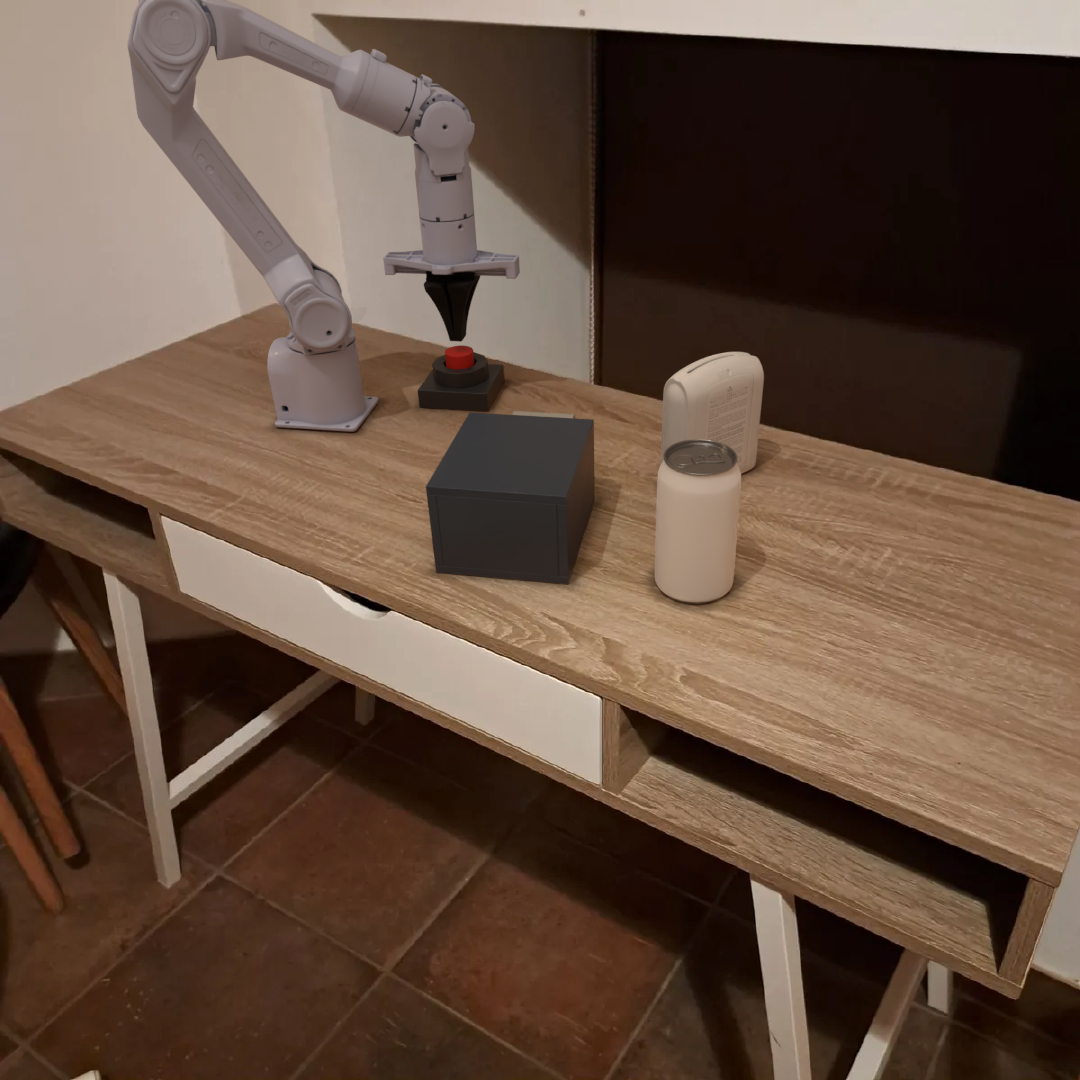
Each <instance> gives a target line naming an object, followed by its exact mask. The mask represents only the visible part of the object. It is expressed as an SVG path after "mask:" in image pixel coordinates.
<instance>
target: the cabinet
mask: <svg viewBox="0 0 1080 1080" xmlns="http://www.w3.org/2000/svg"><path fill="white" fill-rule="evenodd" d="M595 481H596V480H595V419H589V418H576V417H575V418H559V417H541V416H524V415H512V414H504V413H503V414H502V413H490V412H489V413H487V412H473V411H469V412H468V414H467V416H466V417H465V419H464V421H463V422H462V424H461V426H460V428H459V429H458V430H457V432H456V435H455V436H454V438H453V440H452V441H451V443H450V445H449V446H448V448H447V450H446V451H445V453H444V454H443V456H442V458H441V460H440V462H439V463H438V465H437V466H436V468H435V470H434V472H433V473H432V475H431V477H430V478H429V480H428V482H427V484H426V485H425V491H426V499H427V501H426V502H427V508H428V517H429V525H430V533H431V543H432V550H433V558H434V559H433V560H434V565H435V573H437V574H448V575H459V576H471V577H480V578H491V579H492V578H493V579H505V580H514V581H526V582H537V583H547V584H558V585H559V584H560V585H569V584H570V581H571V578H572V575H573V572H574V568H575V566H576V563H577V559H578V557H579V556H578V555H579V552H580V549H581V547H582V543H583V539H584V537H585V534H586V530H587V527H588V523H589V520H590V518H591V514H592V510H593V507H594V505H595V501H596V498H595V497H596V495H595V491H596V490H595V489H596V488H595V485H596V483H595Z"/></svg>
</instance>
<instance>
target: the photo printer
mask: <svg viewBox="0 0 1080 1080" xmlns="http://www.w3.org/2000/svg"><path fill="white" fill-rule="evenodd" d="M764 383H765V373H764V368H763V365H762V363H761V361H760V359H759V357H757V356H755V355H751V354H750V353H749V352H744V351H727V352H722V353H716V354H712V355H709V356H706V357H703V358H700V359H698V360H696V361H694V362H692V363H690V364H688V365H686V366H684V367H683V368H681V369H679V370H678V371H676V372H675V373H674V374H673V375H671V377H670V378H668V379H667V380H666V382H665V384H664V386H663V393H662V415H661V416H662V418H661V439H660V441H661V443H660V465H661V464H662V462H663V461H664V452H665V450H666V449H667V448H668V447H669V446H671V445H673V444H675V443H677V442H680V441H684V440H691V439H706V440H713V441H717V442H720V443H723V444H725V445H727V446H729V447H731V448H732V449H733V450H734V451H735V452H736V454H737V457H738V459H737V464H738V467H739V469H740V472H741V474H743V473H746V472H748V471H750V470H752V469H754V467H755V466H756V464H757V457H758V445H759V436H760V435H759V433H760V423H761V411H762V402H763V391H764Z"/></svg>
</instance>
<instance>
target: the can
mask: <svg viewBox="0 0 1080 1080" xmlns="http://www.w3.org/2000/svg"><path fill="white" fill-rule="evenodd" d="M737 459H738V457H737V454H736V452H735V451H734V450H733V449H732V448H731V447H729V446H727V445H725V444H723V443H720V442H717V441H713V440H706V439H691V440H684V441H680V442H677V443H675V444H673V445H671V446H669V447H668V448H667V449H666V450H665V452H664V461H663V462H662V464H661V463H660V465H659V468H658V471H657V477H656V479H657V480H656V502H655V503H656V506H655V535H654V536H655V540H654V581H655V584H656V586H657V587H658V589H659V590H660V591H661V592H662V593H663V594H664V595H665V596H667V597H668V598H669V599H671V600H674V601H675V602H680V603H684V604H687V605H688V604H690V605H702V604H703V605H704V604H709V603H713V602H715V601H717V600H720V599H721V598H723V597H725V595H727V594H728V592H730V591H731V589H732V587H733V583H734V577H735V565H736V555H737V543H738V531H739V518H740V505H741V504H740V503H741V493H742V492H741V491H742V488H741V487H742V473H741V472H740V469H739V467H738V464H737Z"/></svg>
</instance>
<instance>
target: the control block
mask: <svg viewBox="0 0 1080 1080" xmlns="http://www.w3.org/2000/svg"><path fill="white" fill-rule="evenodd" d="M473 353H474V366H472V367H469V368H465V369H450V368H447V367H446V359H445V354H443V355H441V356H438V357H436V358H435V359H434V360H433V362H432V364H431V366H432V369H431V371H429V373H428V375H427V376H426V378H425V379H424V380H423V382H422V383H421V385H420V386H419V387H418V389H417V396H418V397H417V398H418V407H419V408H420V409H437V410H438V409H439V410H453V411H454V410H456V411H469V412H489V410H490V408H491V406H492V405H493V404H494V402H495V399H496V398H497V396H498V394H499V392H500V390H501V389H502V387H503V386H504V383H505V368H504V367H505V366H504V364H497V363H495V364H494V363H489V360H488V359H487V357H486V356H485V355H484V354H481V353H478V352H474V351H473Z"/></svg>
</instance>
